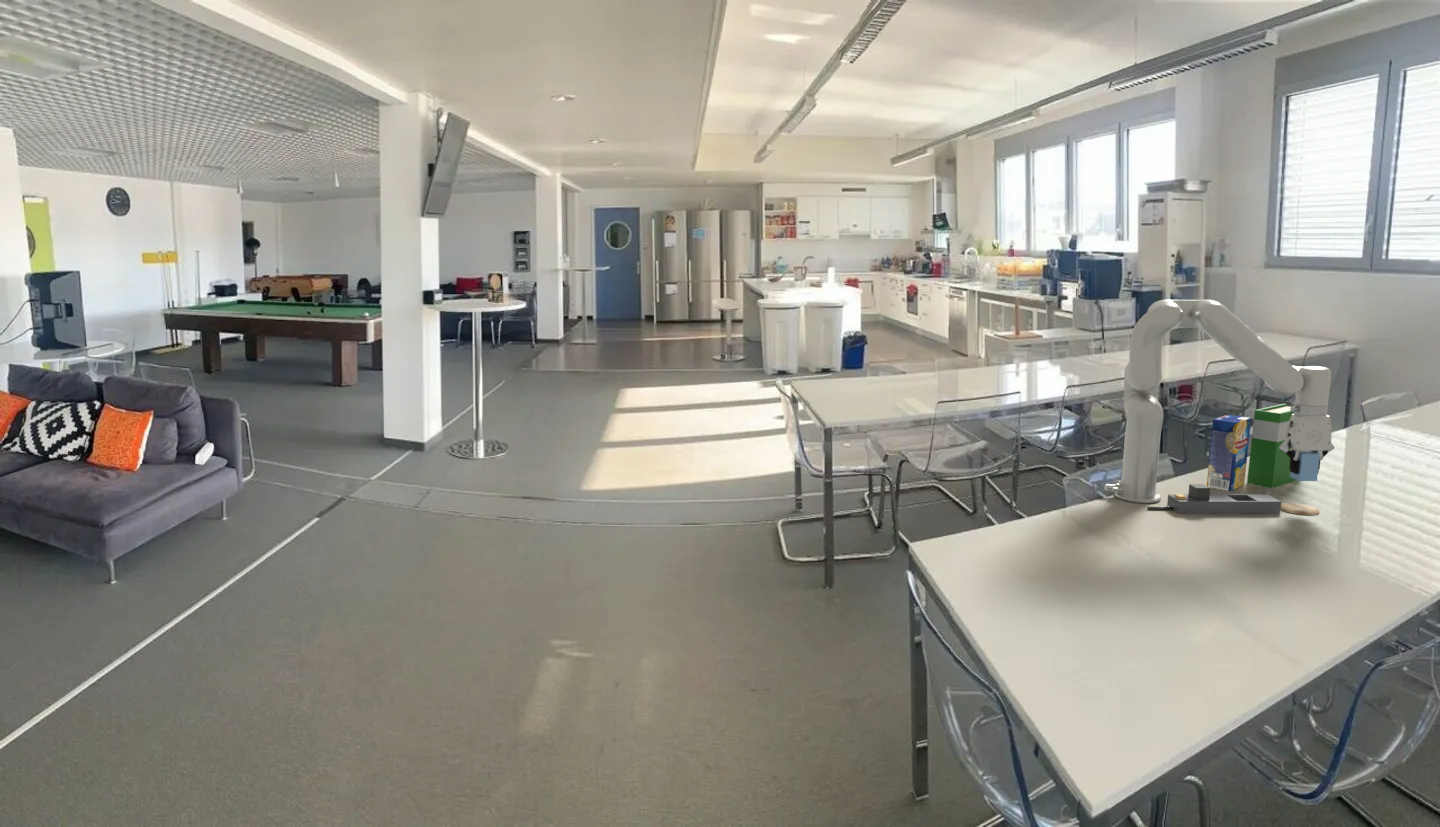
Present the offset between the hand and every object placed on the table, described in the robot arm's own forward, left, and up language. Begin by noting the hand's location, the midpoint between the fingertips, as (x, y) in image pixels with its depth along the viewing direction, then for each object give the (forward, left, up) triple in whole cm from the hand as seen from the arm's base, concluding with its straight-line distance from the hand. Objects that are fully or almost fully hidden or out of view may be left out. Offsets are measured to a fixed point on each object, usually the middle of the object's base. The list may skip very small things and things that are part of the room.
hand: (1304, 471), depth 235 cm
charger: (0, 0, -2) cm, 2 cm away
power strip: (-25, 0, -11) cm, 27 cm away
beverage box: (-8, +24, -12) cm, 28 cm away
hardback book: (+10, +30, -12) cm, 33 cm away
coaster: (0, 0, -11) cm, 11 cm away
